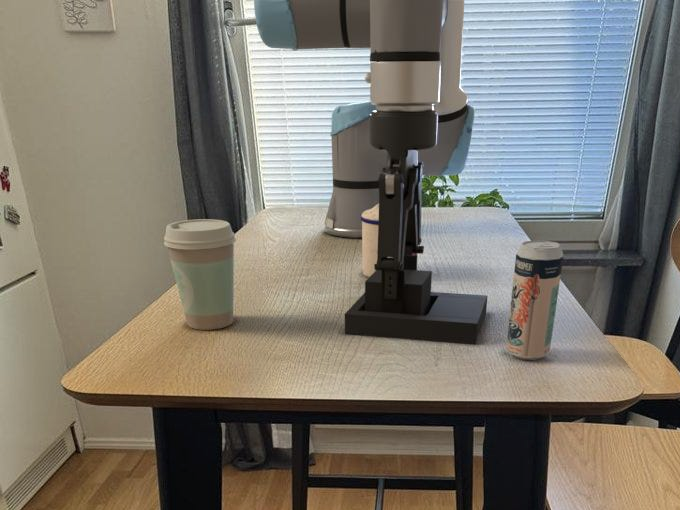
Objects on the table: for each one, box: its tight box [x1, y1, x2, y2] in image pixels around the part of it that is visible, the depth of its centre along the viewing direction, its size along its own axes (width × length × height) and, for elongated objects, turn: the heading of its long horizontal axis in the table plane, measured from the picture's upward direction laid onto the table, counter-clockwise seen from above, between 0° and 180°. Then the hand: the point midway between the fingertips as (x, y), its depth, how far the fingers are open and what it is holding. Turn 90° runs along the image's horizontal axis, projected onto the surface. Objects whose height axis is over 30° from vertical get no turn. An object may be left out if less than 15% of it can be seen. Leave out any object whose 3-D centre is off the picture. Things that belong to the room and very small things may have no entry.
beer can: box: [505, 239, 564, 361], centre depth 72 cm, size 5×5×12 cm
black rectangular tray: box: [344, 291, 488, 345], centre depth 85 cm, size 12×16×2 cm
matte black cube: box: [364, 269, 433, 316], centre depth 84 cm, size 7×7×5 cm
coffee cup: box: [163, 218, 237, 331], centre depth 83 cm, size 8×9×12 cm
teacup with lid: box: [361, 204, 418, 278], centre depth 105 cm, size 12×9×12 cm
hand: (399, 313), depth 85 cm, fingers closed on matte black cube, 7 cm apart
